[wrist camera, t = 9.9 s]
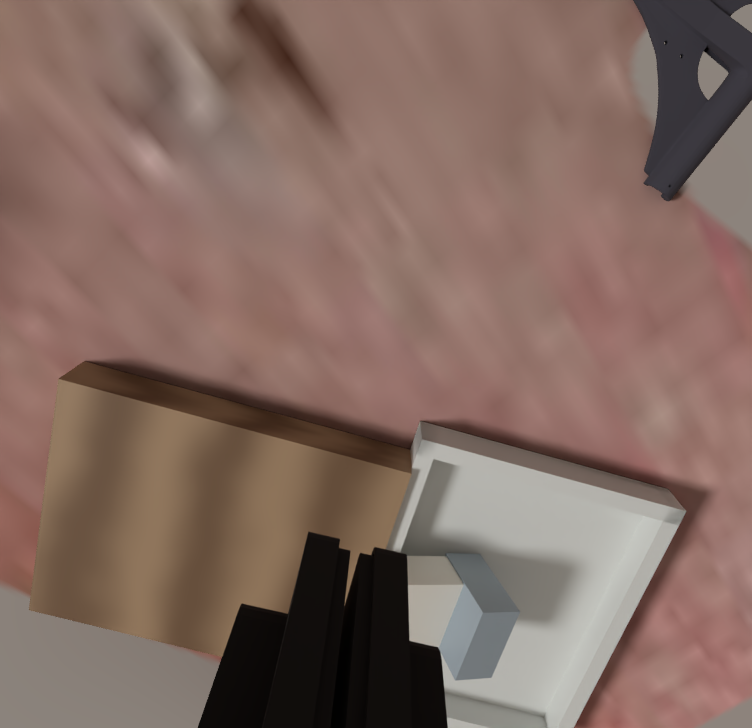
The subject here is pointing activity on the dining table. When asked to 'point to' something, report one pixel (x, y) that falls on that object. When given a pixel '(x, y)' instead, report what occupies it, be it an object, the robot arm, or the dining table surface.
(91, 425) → the tan wooden board
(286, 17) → the dining table surface
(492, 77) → the dining table surface
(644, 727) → the dining table surface
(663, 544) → the box
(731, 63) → the bracket
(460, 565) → the slate tile
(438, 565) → the cream tile
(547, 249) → the dining table surface
